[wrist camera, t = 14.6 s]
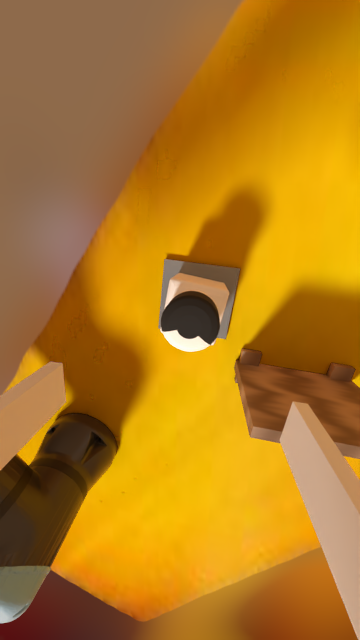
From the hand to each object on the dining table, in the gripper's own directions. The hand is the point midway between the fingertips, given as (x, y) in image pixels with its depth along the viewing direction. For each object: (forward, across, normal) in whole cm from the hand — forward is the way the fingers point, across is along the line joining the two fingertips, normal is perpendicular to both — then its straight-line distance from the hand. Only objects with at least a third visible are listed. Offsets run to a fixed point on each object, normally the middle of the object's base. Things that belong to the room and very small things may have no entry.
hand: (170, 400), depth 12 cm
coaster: (+22, 0, +1) cm, 22 cm away
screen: (+22, +17, -9) cm, 29 cm away
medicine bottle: (+21, 0, +1) cm, 21 cm away
